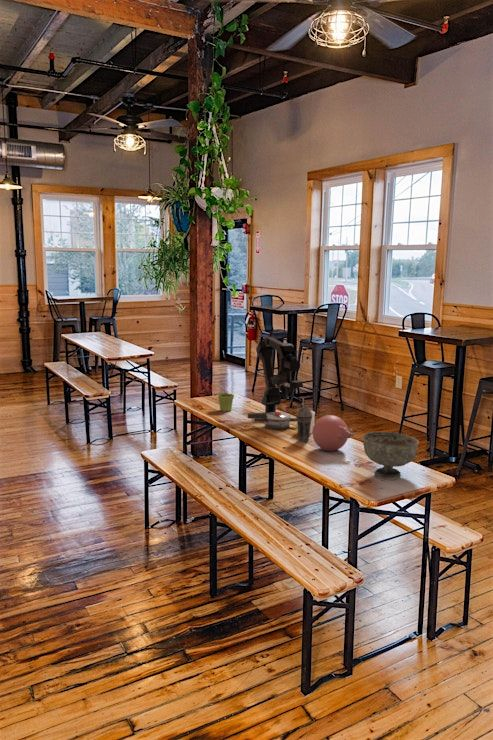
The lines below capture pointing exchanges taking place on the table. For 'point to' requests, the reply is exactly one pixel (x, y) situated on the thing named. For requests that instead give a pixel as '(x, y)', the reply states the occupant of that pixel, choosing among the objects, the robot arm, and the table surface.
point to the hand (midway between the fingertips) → (284, 399)
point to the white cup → (312, 422)
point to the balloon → (331, 433)
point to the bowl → (389, 452)
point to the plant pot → (225, 402)
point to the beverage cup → (304, 423)
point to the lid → (270, 416)
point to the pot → (276, 423)
